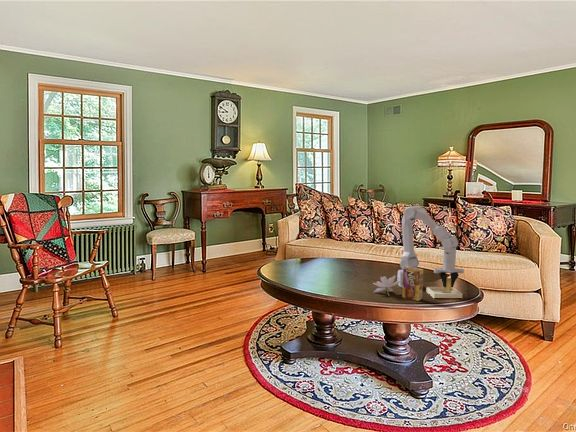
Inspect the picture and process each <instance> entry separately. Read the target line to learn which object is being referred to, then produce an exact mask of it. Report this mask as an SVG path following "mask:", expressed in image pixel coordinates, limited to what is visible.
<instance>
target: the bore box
mask: <svg viewBox="0 0 576 432" xmlns="http://www.w3.org/2000/svg"><path fill="white" fill-rule="evenodd" d="M444 289H445V287H443V286H425V292H426V293H427V294H428V295H429V294H430V295H429V296H431V297H432V298H433V299H434V298H462V299H463V293H462V292H461V291H459V290H458V289H456V288H455V287H454V286H453V287H451V291H445V290H444Z"/></svg>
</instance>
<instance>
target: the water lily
mask: <svg viewBox="0 0 576 432" xmlns="http://www.w3.org/2000/svg"><path fill="white" fill-rule="evenodd" d="M396 277H397V275H393V276H391V277H389V278H387V276H385V275H384V276H380V281H376V282H373V283H372V284H373V285H375V286H377V287H378V288H375V290H374V291H373V293H379V292H382V291H384V290H386V292H387V295H388V297H390V296H391V295H390V293H389V292H392V293H393V287H395V286H397V285H398V284H399V283H400V282H401V281H395V279H396Z"/></svg>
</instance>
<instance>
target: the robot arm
mask: <svg viewBox="0 0 576 432" xmlns="http://www.w3.org/2000/svg"><path fill="white" fill-rule="evenodd" d="M416 220H420V221H423V222H424V223H425V224H426V226H428V227H429V228H430V229H431V230H432V234H433V235H434V236H435V237H436V238H437V239H438V240H439V241H440V242H441V246H442V248H443V260H442V261H443V263H442V268H433V273H434V274H439V277H440V279H441V282H442V287H446V279H447V278H448V274H450V277H449V278H451V279H452V282H451V287H453V288H454V285H455V283H456V281H457V279H458V278H459V275H460V274H465V272H464V271H465V269H463V268H456V255H457V248H458V246H459V239H458V238H457V237H456V236H453V234H451V233H449V232H448V231H447V230H446V227H445V226H442V225H439V224H437V222H436V221H435V220H434V219H433V218H432V217H431V215H429V213H428V212H427V210H426V209H425V208H424V207H423V206H421V205H415V206H407V207H406V208H405V209H404V210H403V215H402V219H401V230H402V231H401V232H402V245H403V246H402V248H403V252H402V255H401V257H400V261H399V266H400V268H401V269H398V270H397V275H396V277H397V278H396V279H397V281H401V282H400V283H399V284H397V285H398V286H399V287H400V288H403V268H404V267H413V268H419V265H420V262H419V258H418V255H417V253H416V252H415V248H414V247H415V244H414V231H413V223H414V222H415V221H416Z"/></svg>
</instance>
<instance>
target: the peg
mask: <svg viewBox="0 0 576 432" xmlns="http://www.w3.org/2000/svg"><path fill="white" fill-rule="evenodd" d="M451 282H452V279H451V277H447V279H446V287H445V289H444V290H445V291H451Z"/></svg>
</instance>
